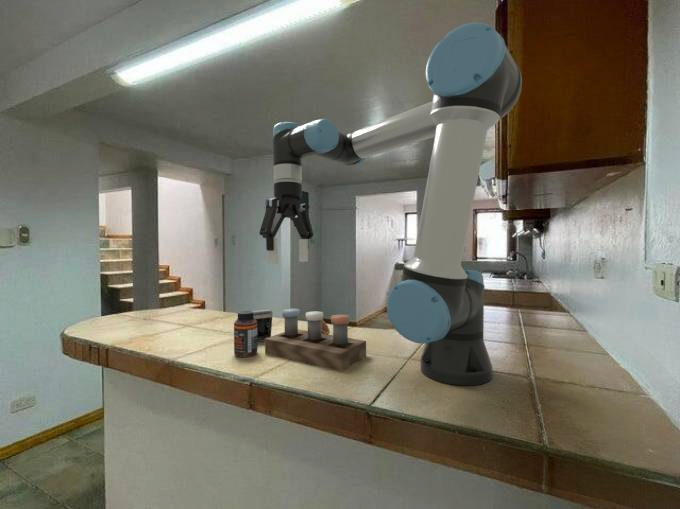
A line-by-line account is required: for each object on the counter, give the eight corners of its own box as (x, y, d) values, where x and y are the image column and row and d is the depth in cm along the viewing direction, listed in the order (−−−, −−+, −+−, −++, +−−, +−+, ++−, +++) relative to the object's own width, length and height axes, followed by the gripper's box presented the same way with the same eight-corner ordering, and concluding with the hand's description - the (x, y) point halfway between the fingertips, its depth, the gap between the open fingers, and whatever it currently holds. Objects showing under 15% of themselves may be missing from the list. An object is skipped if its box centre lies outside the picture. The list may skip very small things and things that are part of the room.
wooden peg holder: (366, 356, 84) (366, 340, 84) (341, 371, 74) (341, 353, 74) (294, 342, 97) (294, 328, 97) (265, 353, 87) (264, 338, 87)
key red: (353, 341, 82) (352, 315, 82) (343, 346, 78) (343, 319, 78) (337, 338, 84) (337, 313, 84) (327, 343, 81) (327, 317, 80)
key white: (326, 336, 86) (326, 312, 86) (316, 341, 82) (316, 315, 82) (312, 334, 89) (312, 310, 89) (302, 338, 85) (301, 313, 85)
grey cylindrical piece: (303, 332, 91) (302, 309, 90) (292, 336, 87) (291, 312, 86) (290, 330, 93) (290, 307, 93) (279, 334, 89) (278, 310, 89)
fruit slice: (325, 342, 97) (325, 325, 97) (304, 340, 99) (303, 324, 99) (332, 334, 106) (331, 319, 106) (312, 333, 107) (311, 318, 107)
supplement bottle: (229, 355, 85) (228, 312, 85) (245, 349, 91) (245, 308, 90) (246, 359, 83) (245, 314, 82) (262, 352, 88) (261, 310, 88)
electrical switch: (270, 336, 104) (270, 307, 103) (274, 342, 100) (275, 312, 98) (239, 340, 100) (239, 310, 99) (243, 346, 95) (243, 315, 94)
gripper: (304, 190, 101) (305, 260, 101) (243, 176, 80) (245, 264, 81) (324, 188, 97) (325, 260, 97) (265, 172, 76) (267, 265, 77)
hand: (289, 262), depth 89 cm, fingers open, 12 cm apart
